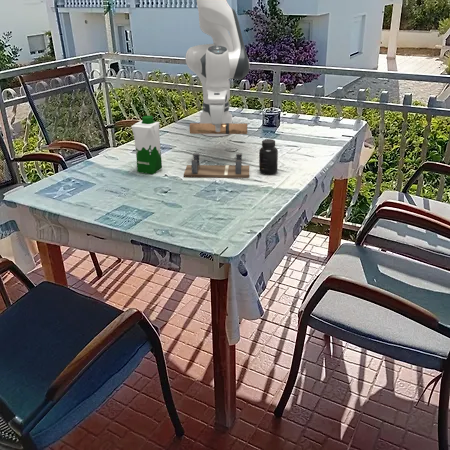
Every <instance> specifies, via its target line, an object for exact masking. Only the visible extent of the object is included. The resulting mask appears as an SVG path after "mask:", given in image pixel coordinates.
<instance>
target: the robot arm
mask: <svg viewBox="0 0 450 450" xmlns="http://www.w3.org/2000/svg"><path fill="white" fill-rule="evenodd" d="M196 5H197V10H198V21H199V23H198V24H199V28H200V30H201V31H202V33H204V34H206V35H208V36H209V37H211V39H212V41H213V43H209V44H208V43H206V44H205V43H204V44H198V45H194V46H191V47H188V49H187V50H186V53H185V64H186V66H187V67H188V69H189V70H190V71H191V72H193V73H194V74H195V75H196V76H197V78H198V79H199V81H200V83H201V88H202V96H203V101H202V112H201V113H200V114H199V123H212V125H215V128H216V132H220V125H221V124H222V123H234V121H233V114H232V113H231V111H230V110H229V109H230V103H229V99H230V98H231V82H230V79H233V80H242V79H244V78H246V77H247V75H248V74H249V73H250V68H251V67H250V60H249V57H248V54H247V51H246V48H245V47H246V46H245V42H244V39H243V38H244V37H243V35H242V30H241V26H240V22H239V18H238V15H237V13H236V10H235V9H234V8H232V7H231V6H230V5H229V3H228V1H227V0H196ZM202 135H203V136H206V137H224V136H229V135H230V134H202Z"/></svg>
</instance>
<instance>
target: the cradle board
mask: <svg viewBox="0 0 450 450" xmlns="http://www.w3.org/2000/svg"><path fill="white" fill-rule="evenodd" d="M250 167H251V166H250V165H249V164H248V165H244V164H242V168H241V174H236V172H235V165H234V164H233V165H230V164H223V165H222V164H217V165H216V164H214V165H213V164H210V165H209V164H200V167H199V170H198V174H192V165H191V164H187V165H186V167H185V170H184V173H183V178H193V179H194V178H196V179H198V178H203V179H204V178H206V179H207V178H211V179H212V178H213V179H215V178H216V179H217V178H218V179H219V178H220V179H224V178H225V179H229V178H230V179H232V178H233V179H249V178H250Z"/></svg>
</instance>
